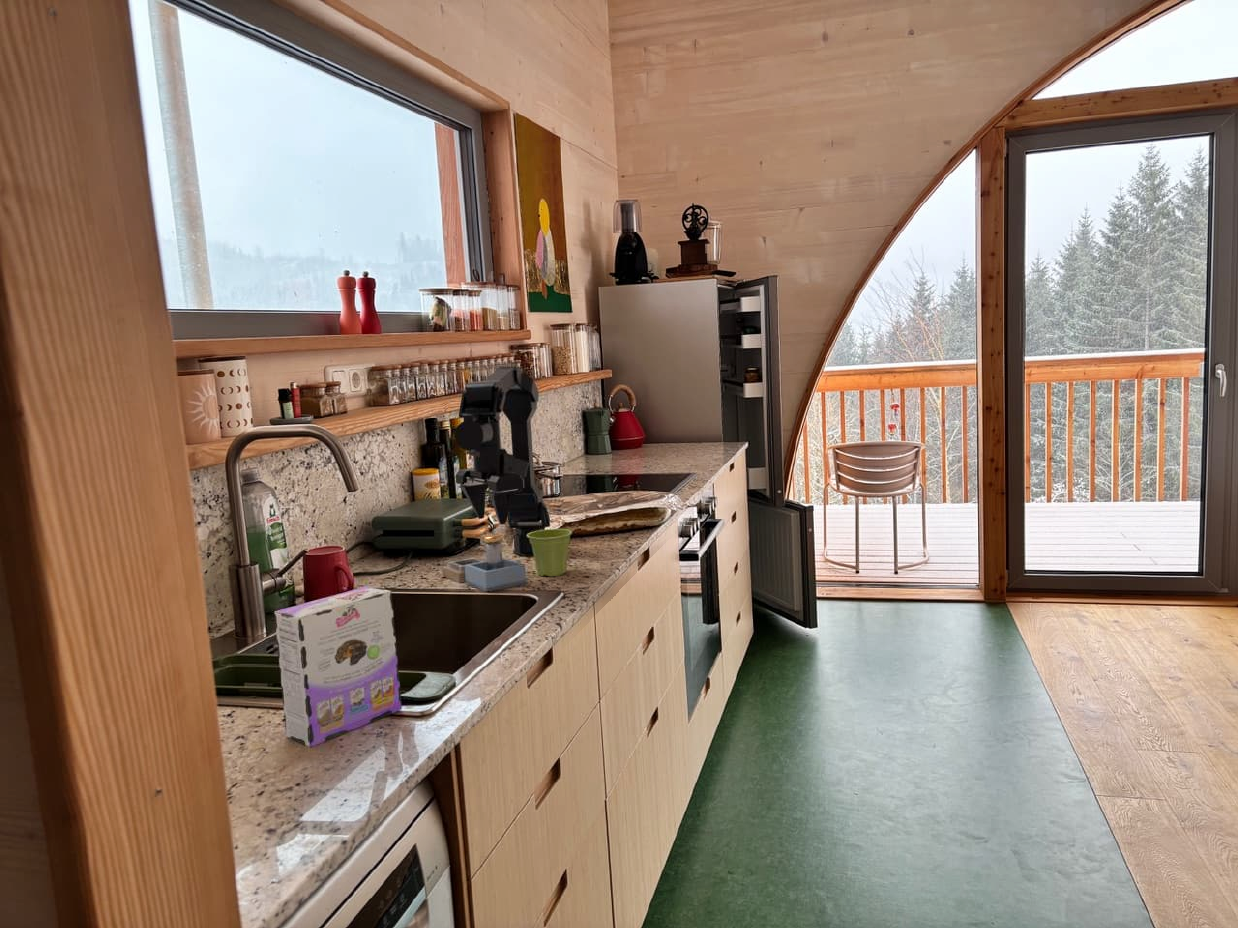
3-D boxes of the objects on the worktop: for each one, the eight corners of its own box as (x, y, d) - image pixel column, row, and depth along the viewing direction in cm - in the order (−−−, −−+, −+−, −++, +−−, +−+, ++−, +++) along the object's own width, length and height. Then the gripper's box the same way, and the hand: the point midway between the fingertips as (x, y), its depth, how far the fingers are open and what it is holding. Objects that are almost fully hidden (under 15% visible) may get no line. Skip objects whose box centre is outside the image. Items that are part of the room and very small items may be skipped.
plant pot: (537, 581, 188) (535, 539, 187) (523, 572, 196) (521, 532, 195) (580, 574, 192) (578, 533, 191) (564, 566, 200) (562, 526, 199)
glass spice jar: (483, 580, 188) (480, 536, 187) (499, 576, 190) (496, 533, 189) (491, 583, 185) (489, 538, 184) (507, 579, 187) (505, 536, 186)
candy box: (376, 701, 126) (366, 584, 124) (403, 710, 122) (393, 589, 120) (284, 737, 115) (271, 609, 113) (310, 748, 111) (298, 616, 109)
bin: (504, 576, 194) (503, 557, 193) (526, 583, 186) (525, 564, 186) (466, 584, 188) (464, 564, 188) (486, 592, 181) (485, 572, 181)
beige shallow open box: (476, 569, 201) (475, 556, 200) (494, 575, 194) (493, 561, 194) (442, 576, 196) (441, 562, 196) (459, 582, 190) (458, 568, 189)
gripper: (545, 443, 182) (549, 521, 184) (499, 438, 197) (504, 510, 199) (495, 449, 175) (500, 529, 177) (452, 443, 190) (457, 517, 192)
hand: (491, 521), depth 187 cm, fingers open, 9 cm apart
